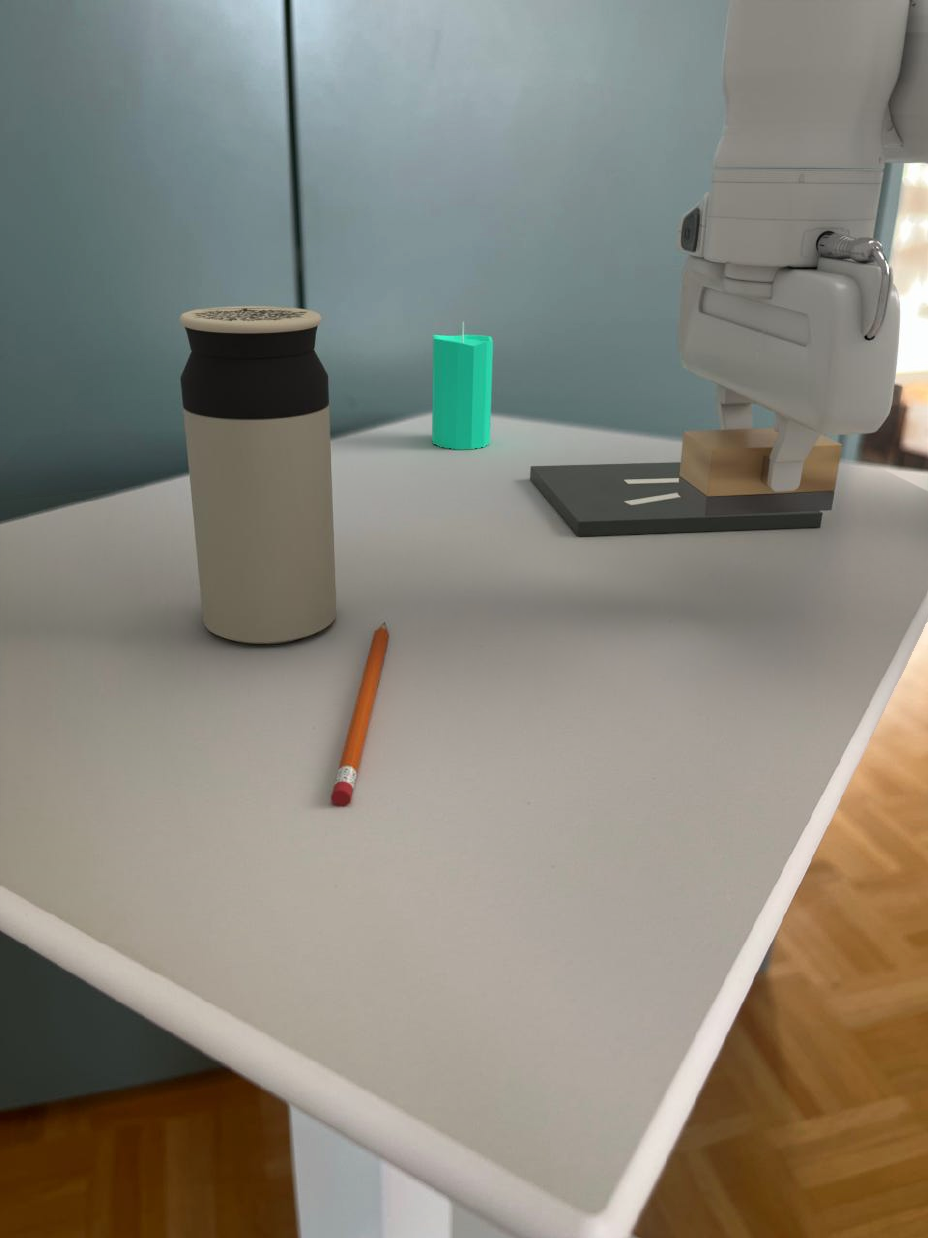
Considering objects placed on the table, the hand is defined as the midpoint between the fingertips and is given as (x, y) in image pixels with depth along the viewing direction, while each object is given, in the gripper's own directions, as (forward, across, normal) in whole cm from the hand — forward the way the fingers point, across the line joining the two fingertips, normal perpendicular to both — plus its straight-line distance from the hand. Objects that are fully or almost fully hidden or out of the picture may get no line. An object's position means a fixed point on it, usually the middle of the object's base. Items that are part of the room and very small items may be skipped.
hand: (756, 474), depth 60 cm
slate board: (+9, +23, -4) cm, 25 cm away
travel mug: (+9, +2, +29) cm, 31 cm away
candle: (+9, +45, +10) cm, 47 cm away
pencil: (+9, -9, +24) cm, 28 cm away
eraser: (+2, 0, 0) cm, 2 cm away
